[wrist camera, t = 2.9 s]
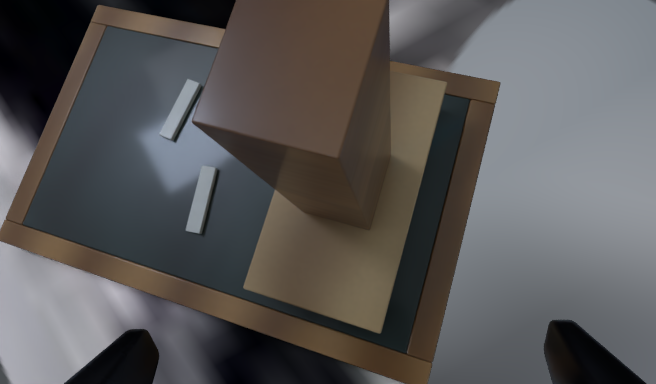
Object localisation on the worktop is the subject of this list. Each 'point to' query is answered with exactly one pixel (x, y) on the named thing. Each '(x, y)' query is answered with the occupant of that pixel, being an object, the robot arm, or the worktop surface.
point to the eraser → (323, 147)
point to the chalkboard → (223, 195)
